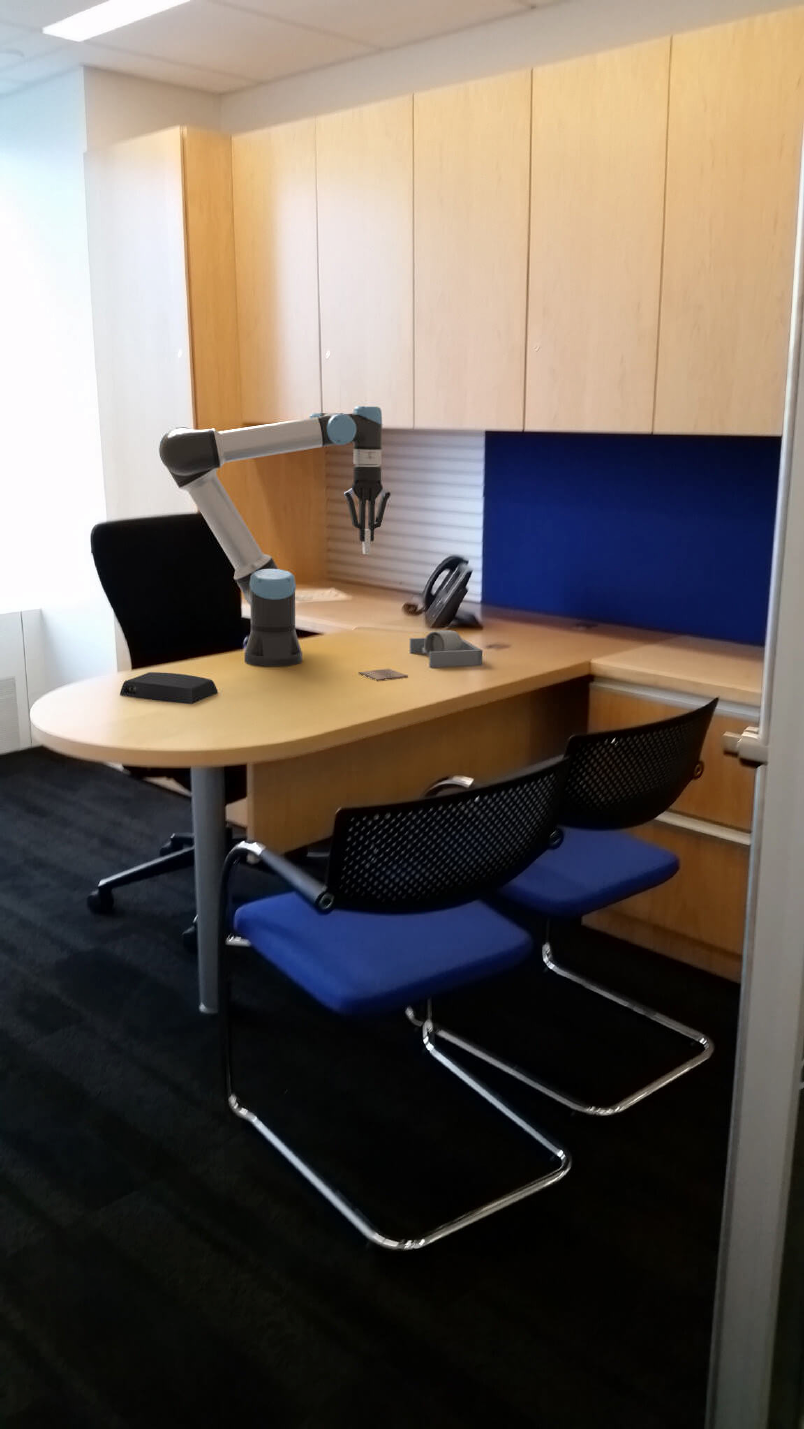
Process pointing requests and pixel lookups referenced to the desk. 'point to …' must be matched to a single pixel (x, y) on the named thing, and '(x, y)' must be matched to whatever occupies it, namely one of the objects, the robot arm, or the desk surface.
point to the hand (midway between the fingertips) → (366, 553)
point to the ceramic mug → (442, 641)
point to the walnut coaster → (383, 674)
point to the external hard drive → (169, 687)
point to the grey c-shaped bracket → (449, 654)
